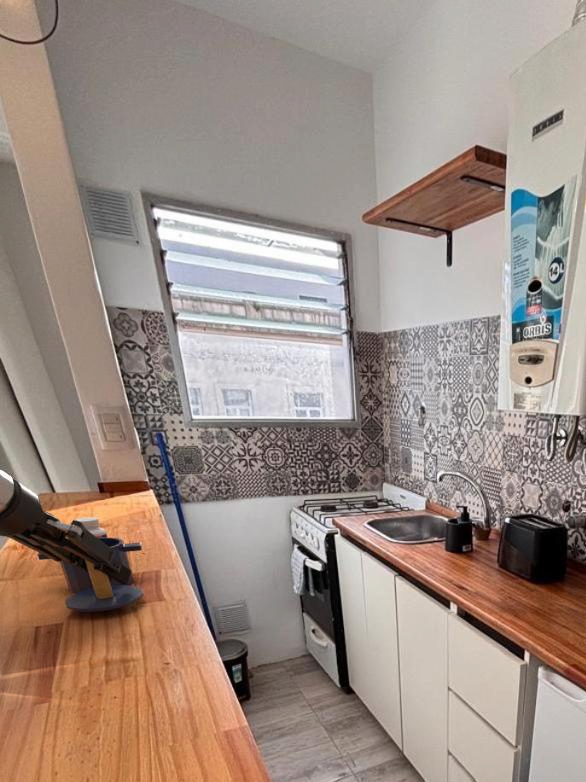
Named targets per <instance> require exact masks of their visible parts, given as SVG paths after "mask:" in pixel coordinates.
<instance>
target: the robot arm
mask: <svg viewBox="0 0 586 782" xmlns="http://www.w3.org/2000/svg"><path fill="white" fill-rule="evenodd" d="M0 537H7V538H8V539H10V540H13V541H15V542H17V543H19V544H21V545H23V546H25V547H26V548H29V549H31V550H33V551H35V552H37V553H41V554H43V555H45V556H47V557H48V558H50V559H49V560H53V561H55V562H57V563H60V562H61V561H62V560H64V561H65V562H67V563H68V564H73V565H74V564H76V566H78V567H79V568H81V569H83V570H84V571H86V572H88V569H87V565H86V562H85V560H87V561H89V562H91V563H93V564H94V569H95V570H98V571H101V572H103V573H104V574H106V575H108V578H109V582H111V580H112V578H113V579H114V580H116V581H118V582H119V583H121V584H124V585H127V582H128V579H129V577H130V574H131V570H132V569H131V570H130V569H128V568H126V567H125V566H123V565H122V564H120V563H119V562H117V561H116V560H114V559H113V556H114V553H115V551H114V550H112V549H111V548H110V547H109V546H107V545H106V544H105V543H103V542H102V541H101V540H100V539H98V538H97V537H96V536H94V535H93V534H92V533H90V532H89V531H88V530H87V529H86V528H85V527H84V525H83V524H82V523H81V522H79V521H76V520H75V519H74V520H72V521H71V522H70V523H66V522H62V521H60V519H59V517H56V516H55V515H53V514H51V513H50V512H48V511H45V510H44V508H43V506H42V503H41V499H40V497H39V496H38V495H37V494H36V493H35V492H34V491H32V490H31V489H29V488H28V487H27V486H25V485H24V484H22V483H21V482H19V481H17V480H16V479H14V478H12V476H11V475H9V474H7V473H6V472H5V471H3V470H1V469H0ZM52 553H53V554H52ZM88 573H89V572H88Z"/></svg>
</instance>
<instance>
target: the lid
mask: <svg viewBox="0 0 586 782" xmlns="http://www.w3.org/2000/svg"><path fill="white" fill-rule="evenodd" d="M85 562H86V565H87V569H88V572H89V575H90V578H91V581H92V585H93V589H89V590H86V591H82V592H79V593H73V594H72V595H70V596H69V597H68V598H67V599H66V600H65V601H64V605H65V607H66V608H67V609H68V610H70V611H75V612H81V613H84V612H85V613H86V612H87V613H89V612H90V613H92V612H105V611H110V610H115V609H119V608H123V607H126V606H129V605H131V604H134V603H136V602H138V601H139V600H141V599H142V598H143V597H144V590H143V589H142V588H140V587H138V586H135V585H130V586H128V585H115V586H111V585H110V582H109V578H108V575H106V574H104V573H103V572H101V571H98V570H95V569H94V564H93V563H91V562H89V561H87V560H85Z"/></svg>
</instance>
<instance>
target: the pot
mask: <svg viewBox="0 0 586 782" xmlns="http://www.w3.org/2000/svg"><path fill="white" fill-rule="evenodd" d="M98 539H100V540H101V541H102V542H103V543H105V544H106V545H107V546H109V547H110V548H111V549H112V550H114V551H115V553H114V556H113V559H114V560H116V561H117V562H119V563H120V564H122V565H123V566H125V567H126V568H128V569H130V570H131V574H130V577H129V579H128V582H127V585H128V586H132V585H133V584H134V583H135V577H134V573H133V570H132V567H131V564H130V560H129V556H128V553H129V552H139V551H142V550H143V545H142V542H140V541H139V542H131V543H125V540H123V539H121V538H117V537H110V536H109V537H108V536H107V537H100V538H98ZM52 554H53V553H52ZM37 557H38V560H39V561H42V560H44V561H45V560H51V559H50V558H48V557H47V556H45V555H43V554H41V553H39V552H37ZM59 564H60V567H61V570H62V573H63V576H64V579H65V582H66V584H67V588H68V590H69V591H70V592H71V594H77V593H79V592H82V591H86V590H89V589H93V585H92V581H91V578H90V575H89V573H88V572H86V571H84V570H83V569H81V568H79V567H78V566H76V564H74V565H73V564H68V563H67V562H65V561H64V560H62V561H61V562H59ZM110 585H111V586H115V585H124V584H121V583H119V582H118V581H116V580H114V579H113V578H112V580H111V582H110Z"/></svg>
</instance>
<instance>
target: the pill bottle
mask: <svg viewBox="0 0 586 782" xmlns="http://www.w3.org/2000/svg"><path fill="white" fill-rule="evenodd" d="M74 520H76V521H79V522H81V523H82V524H83V525H84V527H85V528H86V529H87V530H88V531H89V532H90V533H92V534H93V535H94V536H96V537H97V538H100V537H108V535H107V531H106V529H104V528H103V527H100V526H101V525H100V521H99V518H98V517H94V516H90V517H89V516H86V517H80V518H79V517H78V518H76V519H74Z"/></svg>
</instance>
